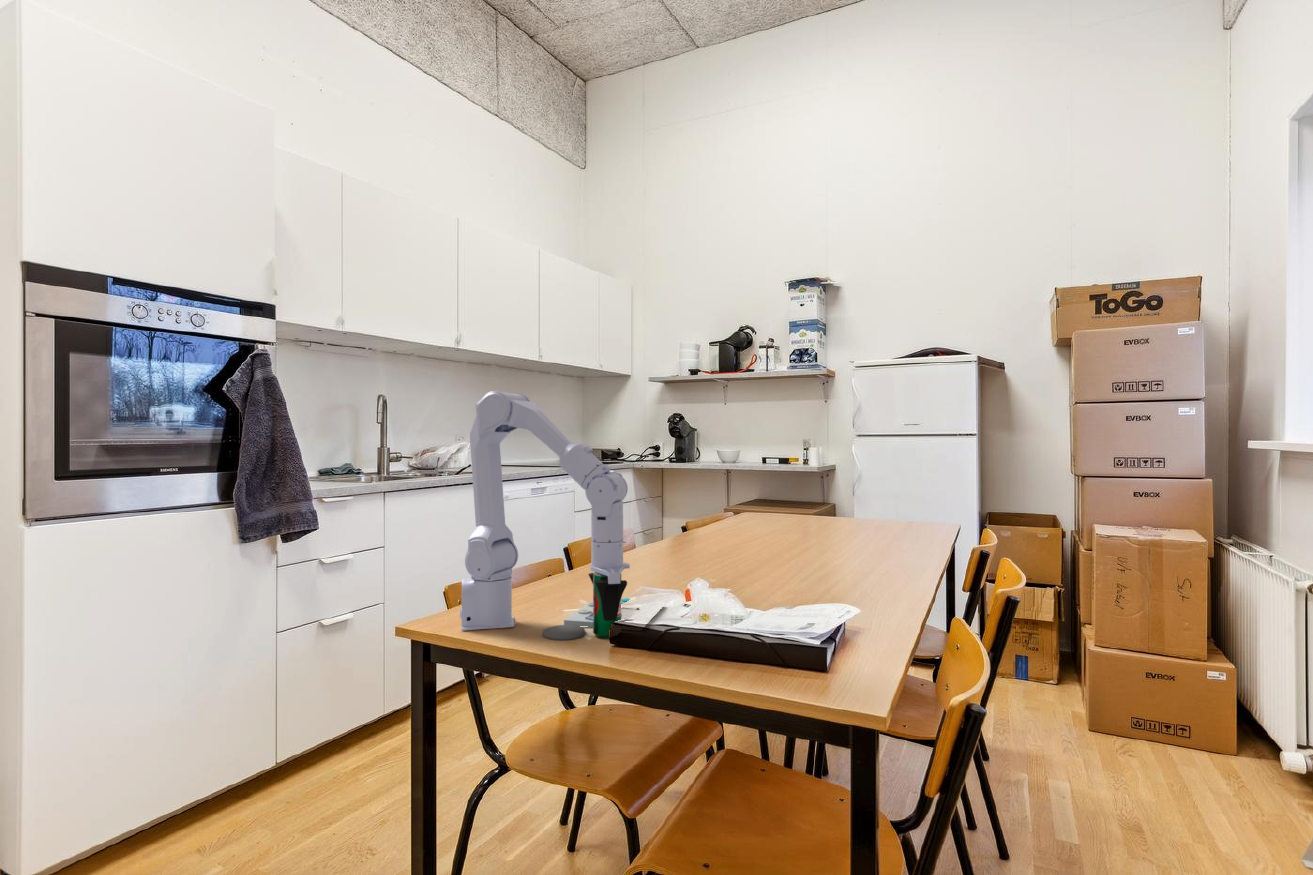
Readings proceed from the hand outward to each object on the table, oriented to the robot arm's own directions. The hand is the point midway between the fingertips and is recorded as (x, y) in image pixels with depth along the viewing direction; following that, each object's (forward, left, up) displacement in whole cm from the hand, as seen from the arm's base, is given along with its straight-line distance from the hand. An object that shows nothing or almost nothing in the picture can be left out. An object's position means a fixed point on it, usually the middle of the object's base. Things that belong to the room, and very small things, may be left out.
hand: (607, 616), depth 123 cm
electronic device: (+4, +12, -4) cm, 14 cm away
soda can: (0, 0, -4) cm, 4 cm away
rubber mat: (-7, +2, -3) cm, 9 cm away
